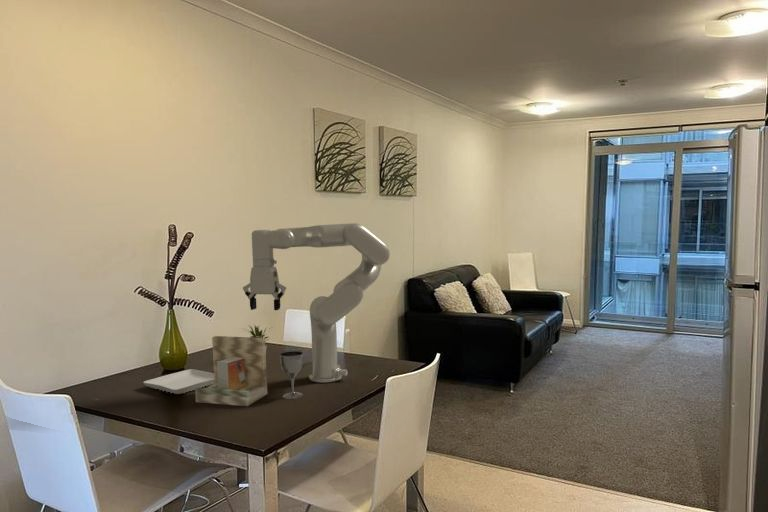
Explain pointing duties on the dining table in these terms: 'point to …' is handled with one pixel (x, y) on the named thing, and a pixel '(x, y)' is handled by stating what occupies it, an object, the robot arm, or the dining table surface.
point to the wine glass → (291, 369)
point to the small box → (231, 373)
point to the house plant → (257, 333)
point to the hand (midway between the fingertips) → (265, 309)
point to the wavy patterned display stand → (254, 371)
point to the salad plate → (181, 381)
